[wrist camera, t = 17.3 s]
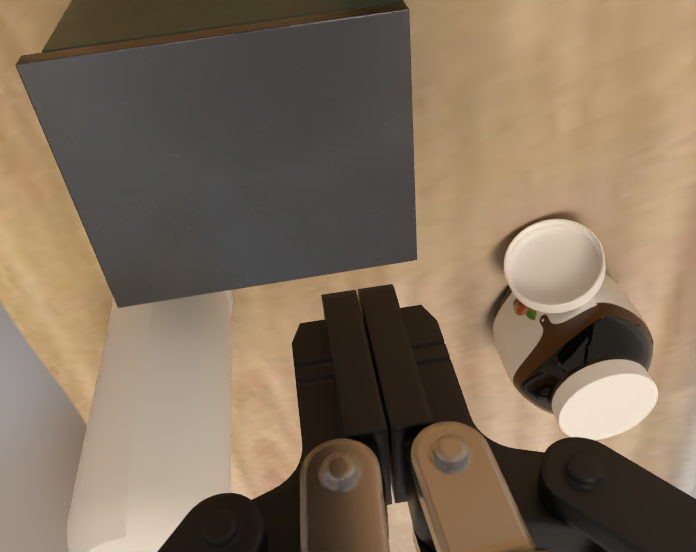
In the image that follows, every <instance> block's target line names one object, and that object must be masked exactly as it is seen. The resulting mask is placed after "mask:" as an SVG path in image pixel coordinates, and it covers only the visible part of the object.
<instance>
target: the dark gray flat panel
mask: <svg viewBox="0 0 696 552" xmlns="http://www.w3.org/2000/svg"><path fill="white" fill-rule="evenodd" d="M16 67H17V70H18V72H19V74H20V77H21V79H22V82H23V84H24V86H25V89H26V91H27V93H28V96H29V98H30V101H31V103H32V105H33V108H34V110H35V112H36V115H37V117H38V119H39V122H40V124H41V127H42V129H43V131H44V134H45V136H46V138H47V141H48V143H49V146H50V148H51V150H52V153H53V155H54V157H55V160H56V162H57V164H58V167H59V169H60V172H61V174H62V176H63V179H64V181H65V183H66V186H67V188H68V191H69V193H70V195H71V198H72V200H73V202H74V205H75V207H76V209H77V212H78V214H79V217H80V219H81V221H82V224H83V226H84V228H85V231H86V233H87V236H88V238H89V240H90V243H91V245H92V247H93V250H94V252H95V254H96V257H97V259H98V262H99V264H100V266H101V269H102V271H103V273H104V276H105V278H106V281H107V283H108V285H109V288H110V290H111V292H112V295H113V297H114V300H115V302H116V304H117V307H118V308H122V307H128V306H134V305H140V304H146V303H153V302H159V301H165V300H171V299H177V298H184V297H190V296H196V295H202V294H208V293H215V292H221V291H227V290H233V289H239V288H246V287H252V286H258V285H264V284H270V283H277V282H283V281H289V280H295V279H301V278H308V277H314V276H320V275H326V274H332V273H339V272H345V271H351V270H357V269H363V268H370V267H376V266H382V265H388V264H394V263H401V262H407V261H413V260H417V241H416V210H415V179H414V147H413V116H412V84H411V53H410V21H409V8H408V7H407V5H406V4H405V2H399V3H392V4H385V5H377V6H370V7H363V8H356V9H349V10H342V11H335V12H328V13H321V14H314V15H307V16H299V17H292V18H285V19H278V20H271V21H264V22H257V23H250V24H243V25H236V26H229V27H221V28H214V29H207V30H200V31H193V32H186V33H179V34H172V35H165V36H158V37H151V38H143V39H136V40H129V41H122V42H115V43H108V44H101V45H94V46H87V47H80V48H73V49H65V50H58V51H51V52H44V53H37V54H30V55H23V56H21V57H20V58H19V60H18V62H17V63H16Z"/></svg>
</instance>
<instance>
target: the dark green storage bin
mask: <svg viewBox="0 0 696 552" xmlns="http://www.w3.org/2000/svg"><path fill="white" fill-rule="evenodd" d="M399 2H404V1H403V0H72V2H71V3H70V5H69V7H68V8H67V10H66V12H65V13H64V15H63V17H62V18H61V20H60V22H59V23H58V25H57V27H56V28H55V30H54V32H53V33H52V35H51V37H50V38H49V40H48V42H47V43H46V45H45V47H44V49H43V50H42V53H44V52H51V51H58V50H65V49H73V48H80V47H87V46H94V45H101V44H108V43H115V42H122V41H129V40H136V39H143V38H151V37H158V36H165V35H172V34H179V33H186V32H193V31H200V30H207V29H214V28H221V27H229V26H236V25H243V24H250V23H257V22H264V21H271V20H278V19H285V18H292V17H299V16H307V15H314V14H321V13H328V12H335V11H342V10H349V9H356V8H363V7H370V6H377V5H385V4H392V3H399Z"/></svg>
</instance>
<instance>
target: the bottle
mask: <svg viewBox="0 0 696 552" xmlns="http://www.w3.org/2000/svg"><path fill="white" fill-rule="evenodd" d="M232 306H233V296H232V290H227V291H221V292H215V293H208V294H202V295H196V296H190V297H184V298H177V299H171V300H165V301H159V302H153V303H146V304H140V305H134V306H128V307H122V308H118V307H117V304H116V302H115V300H114V297H113V303H112V309H111V314H110V319H109V324H108V329H107V333H106V338H105V343H104V348H103V353H102V357H101V362H100V367H99V372H98V377H97V381H96V386H95V391H94V396H93V401H92V405H91V410H90V415H89V420H88V425H87V429H86V435H85V439H84V444H83V449H82V453H81V458H80V463H79V468H78V473H77V478H76V482H75V487H74V492H73V497H72V502H71V506H70V511H69V516H68V521H67V543H68V552H158V550H159V549H160V548H161V547H162V545H163V544H164V543H165V542H166V540H167V539H168V538H169V536H170V535H171V534H172V533H173V531H174V530H175V529H176V528H177V526H178V525H179V524H180V523H181V521H182V520H183V519H184V518H185V516H186V515H187V514H188V513H189V512H190V511H191V509H192V508H193V507H195V506H196V505H197V504H198V503H199V502H201V501H203V500H204V499H206V498H208V497H211V496H213V495H217V494H222V493H231V312H232Z"/></svg>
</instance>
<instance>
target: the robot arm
mask: <svg viewBox="0 0 696 552" xmlns="http://www.w3.org/2000/svg"><path fill="white" fill-rule="evenodd" d="M358 300H359V301H358ZM322 303H323V310H324V318H325V320H319V321H313V322H306V323H300V325H299V327H298V330H297V332H296V334H295V337H294V339H293V342H292V349H293V359H294V367H295V378H296V387H297V397H298V407H299V416H300V426H301V436H302V456H301V459H300V462H299V464H298V466H297V468H296V470H295V471H294V472H293V474H292V475H291V476H290V477H289V478H288V479H287V480H286V481H285V482H284V483H282V484H281V485H280V486H278V487H276V488H274V489H273V490H271V491H269V492H267V493H265V494H263V495H261V496H259V497H257V498H255V499H253V500H250V499H249V498H247V497H245V496H243V495H240V494H235V493H222V494H217V495H213V496H211V497H208V498H206V499H204V500H203V501H201V502H199V503H198V504H197V505H196V506H195V507H193V508H192V509H191V511H190V512H189V513H188V514H187V515H186V516H185V518H184V519H183V520H182V521H181V523H180V524H179V525H178V526H177V528H176V529H175V530H174V531H173V533H172V534H171V535H170V536H169V538H168V539H167V540H166V542H165V543H164V544H163V545H162V547H161V548H160V549H159V550H158V552H390V548H389V529H388V514H387V505H389V504H392V497H391V485H392V490H393V495H394V499H395V503H400V502H405V501H408V506H409V510H410V514H411V519H412V523H413V540H414V544H415V548H416V551H417V552H696V499H695V498H693V497H691V496H690V495H688V494H686V493H684V492H683V491H681V490H679V489H678V488H676V487H674V486H673V485H671V484H669V483H668V482H666V481H664V480H663V479H661V478H659V477H657V476H656V475H654V474H652V473H651V472H649V471H647V470H646V469H644V468H642V467H641V466H639V465H637V464H636V463H634V462H632V461H630V460H629V459H627V458H625V457H624V456H622V455H620V454H619V453H617V452H615V451H614V450H612V449H610V448H608V447H607V446H605V445H603V444H601V443H599V442H597V441H594V440H591V439H587V438H582V437H569V438H564V439H561V440H559V441H556V442H555V443H553V444H552V445H551V446H549V447H548V448H547V450H546V451H545V453H544V452H537V451H529V450H521V449H514V448H509V447H506V446H503V445H500V444H498V443H496V442H493V441H492V440H490V439H489V438H487V437H486V436H485V435H483V434H482V433H481V432H480V431H479V430H478V429H477V427H476V426H475V424H474V423H473V421H472V419H471V416H470V414H469V411H468V408H467V405H466V402H465V399H464V396H463V394H462V391H461V388H460V385H459V382H458V379H457V376H456V373H455V371H454V368H453V365H452V362H451V360H450V357H449V353H448V350H447V348H446V345H445V344H444V339H443V336H442V333H441V330H440V328H439V325H438V322H437V320H436V319H435V318H434V317H433V316H432V315H431V314H430V313H429V312H428V311H427V310H426V309H425V308H424V307H423V306H422V305H417V306H410V307H404V308H400V306H399V303H398V299H397V296H396V293H395V289H394V286H393V285H392V284H390V285H383V286H376V287H370V288H363V289H358V297H357V293H356V290H351V291H344V292H337V293H331V294H324V295H322Z"/></svg>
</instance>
